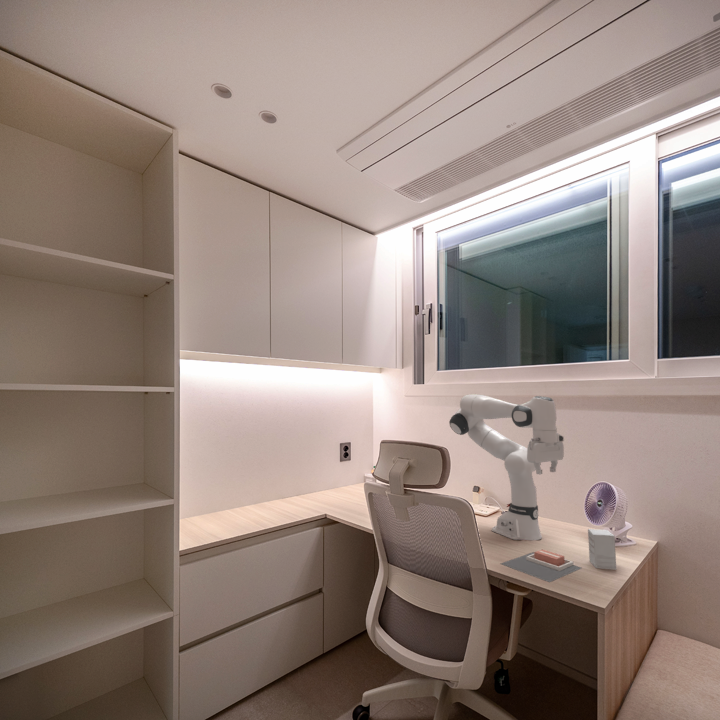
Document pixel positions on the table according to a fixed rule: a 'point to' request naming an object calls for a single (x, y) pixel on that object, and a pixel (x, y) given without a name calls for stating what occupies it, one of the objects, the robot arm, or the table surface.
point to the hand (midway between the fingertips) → (546, 473)
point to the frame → (568, 564)
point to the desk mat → (538, 568)
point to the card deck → (549, 557)
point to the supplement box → (602, 549)
